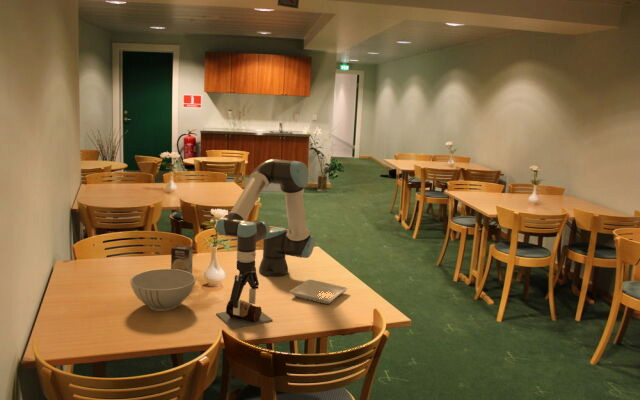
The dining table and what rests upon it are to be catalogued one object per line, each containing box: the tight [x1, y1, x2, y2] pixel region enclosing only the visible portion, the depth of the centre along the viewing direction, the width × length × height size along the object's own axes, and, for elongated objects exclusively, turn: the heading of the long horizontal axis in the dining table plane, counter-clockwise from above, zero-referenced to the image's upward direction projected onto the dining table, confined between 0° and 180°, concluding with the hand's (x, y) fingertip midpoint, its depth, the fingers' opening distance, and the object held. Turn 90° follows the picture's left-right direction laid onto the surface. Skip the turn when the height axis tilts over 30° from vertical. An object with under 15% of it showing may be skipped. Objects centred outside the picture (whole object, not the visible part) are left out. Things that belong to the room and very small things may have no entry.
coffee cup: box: [225, 298, 263, 322], centre depth 230 cm, size 9×8×13 cm
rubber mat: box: [215, 311, 273, 330], centre depth 234 cm, size 18×16×1 cm
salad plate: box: [289, 279, 348, 305], centre depth 264 cm, size 21×21×3 cm
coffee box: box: [170, 244, 194, 274], centre depth 274 cm, size 9×6×16 cm
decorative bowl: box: [129, 268, 197, 312], centre depth 240 cm, size 27×27×12 cm
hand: (244, 308), depth 233 cm, fingers open, 13 cm apart
